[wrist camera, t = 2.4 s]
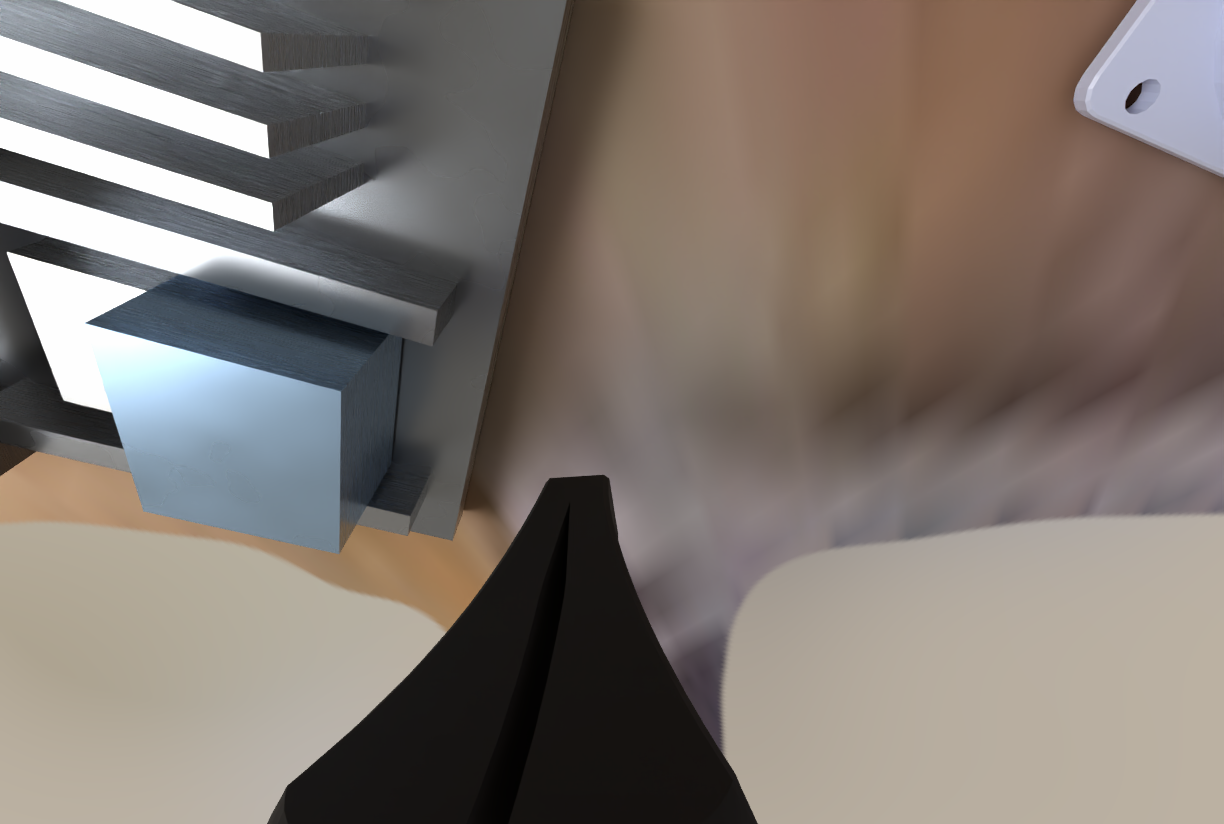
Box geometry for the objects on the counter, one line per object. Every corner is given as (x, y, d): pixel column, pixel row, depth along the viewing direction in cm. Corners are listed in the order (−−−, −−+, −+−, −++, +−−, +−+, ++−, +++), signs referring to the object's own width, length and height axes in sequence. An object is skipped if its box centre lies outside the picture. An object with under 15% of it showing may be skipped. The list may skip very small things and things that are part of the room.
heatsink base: (578, -21, 9) (545, -59, 5) (463, 511, 17) (419, 631, 13) (-453, -449, 7) (-1581, -958, 3) (-26, 394, 15) (-228, 501, 11)
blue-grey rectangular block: (403, 316, 11) (340, 391, 9) (390, 464, 14) (339, 553, 11) (47, 211, 10) (-137, 264, 8) (105, 393, 13) (-19, 475, 10)
